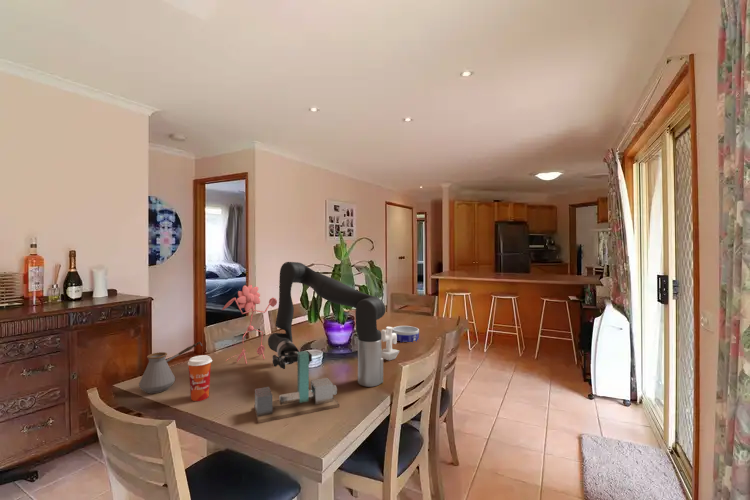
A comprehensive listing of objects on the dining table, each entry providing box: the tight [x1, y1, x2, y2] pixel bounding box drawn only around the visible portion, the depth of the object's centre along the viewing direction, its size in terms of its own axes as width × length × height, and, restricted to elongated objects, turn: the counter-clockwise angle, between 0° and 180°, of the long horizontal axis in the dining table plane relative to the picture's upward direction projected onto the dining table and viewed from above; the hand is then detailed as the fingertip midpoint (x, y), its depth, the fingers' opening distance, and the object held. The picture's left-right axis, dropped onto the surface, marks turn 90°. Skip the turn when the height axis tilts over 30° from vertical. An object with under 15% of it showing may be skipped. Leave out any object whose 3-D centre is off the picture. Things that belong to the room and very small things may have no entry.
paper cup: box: [187, 354, 213, 402], centre depth 123 cm, size 8×8×14 cm
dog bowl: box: [392, 325, 420, 343], centre depth 199 cm, size 15×15×6 cm
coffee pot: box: [138, 341, 203, 394], centre depth 133 cm, size 21×12×15 cm, turn 133°
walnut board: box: [253, 395, 340, 424], centre depth 116 cm, size 26×11×1 cm, turn 115°
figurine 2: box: [380, 326, 400, 362], centre depth 165 cm, size 7×9×15 cm
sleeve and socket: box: [254, 377, 334, 418], centre depth 116 cm, size 24×7×6 cm, turn 115°
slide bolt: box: [278, 350, 338, 405], centre depth 118 cm, size 19×3×16 cm, turn 115°
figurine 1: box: [221, 284, 278, 365], centre depth 164 cm, size 15×26×35 cm, turn 141°
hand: (296, 364), depth 127 cm, fingers open, 8 cm apart
